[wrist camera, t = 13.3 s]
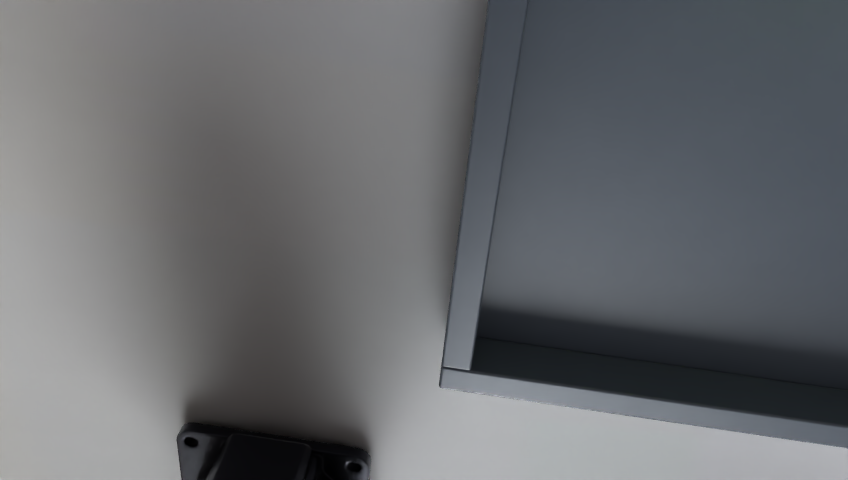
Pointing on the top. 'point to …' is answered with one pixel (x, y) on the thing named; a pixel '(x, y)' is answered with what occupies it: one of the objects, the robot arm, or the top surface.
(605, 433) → the top surface
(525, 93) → the tray
